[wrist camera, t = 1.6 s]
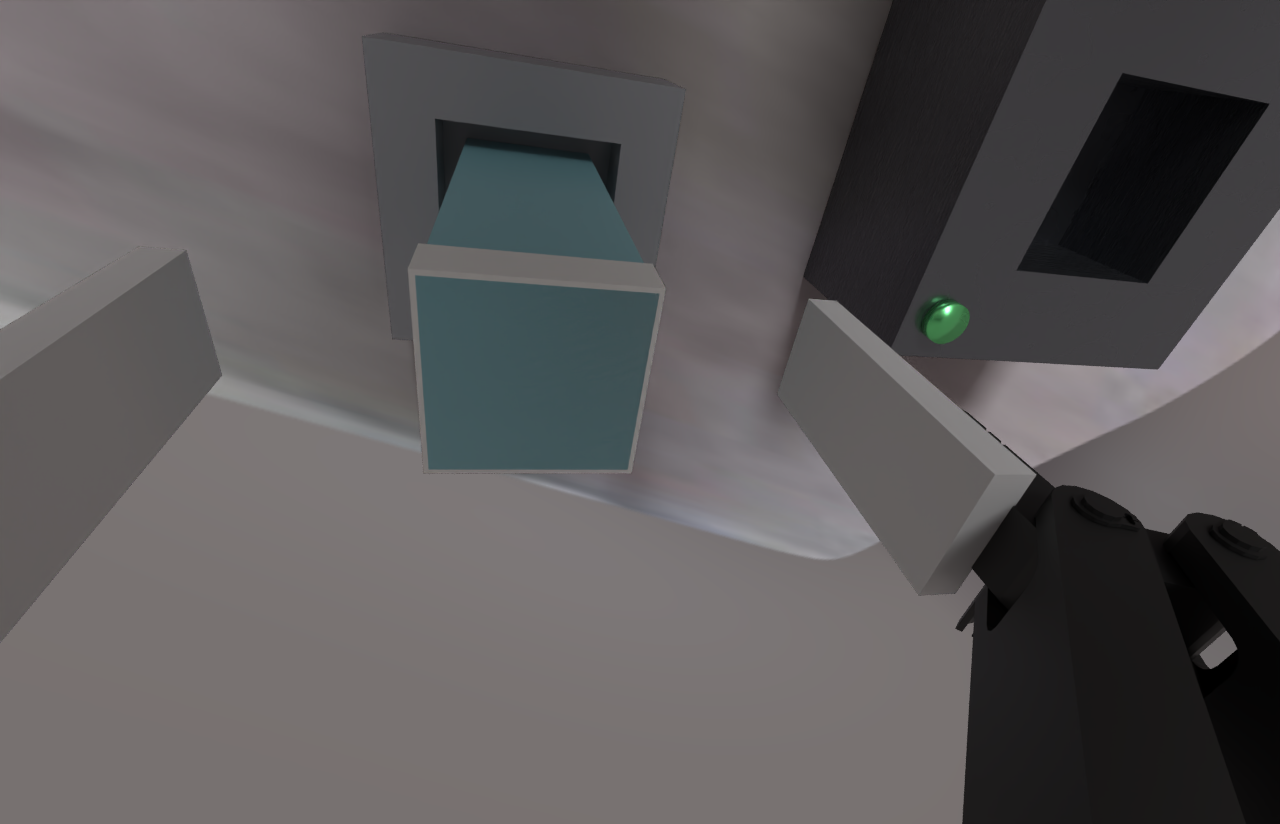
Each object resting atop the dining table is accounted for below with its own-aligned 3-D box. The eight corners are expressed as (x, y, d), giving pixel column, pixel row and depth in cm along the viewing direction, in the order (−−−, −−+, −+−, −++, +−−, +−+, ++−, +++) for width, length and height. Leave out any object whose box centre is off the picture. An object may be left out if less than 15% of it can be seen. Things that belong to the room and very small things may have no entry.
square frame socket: (383, 32, 17) (362, 36, 15) (664, 79, 20) (685, 89, 17) (405, 303, 22) (392, 339, 20) (628, 318, 24) (640, 351, 22)
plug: (463, 134, 18) (407, 268, 9) (591, 150, 19) (666, 288, 10) (466, 258, 21) (423, 473, 11) (580, 268, 22) (631, 473, 12)
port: (919, -79, 18) (1114, -123, 12) (1197, -7, 21) (1467, -13, 15) (803, 276, 25) (894, 360, 19) (1027, 296, 28) (1167, 374, 22)
